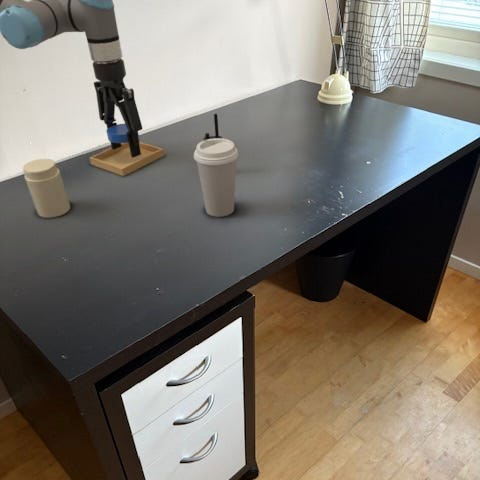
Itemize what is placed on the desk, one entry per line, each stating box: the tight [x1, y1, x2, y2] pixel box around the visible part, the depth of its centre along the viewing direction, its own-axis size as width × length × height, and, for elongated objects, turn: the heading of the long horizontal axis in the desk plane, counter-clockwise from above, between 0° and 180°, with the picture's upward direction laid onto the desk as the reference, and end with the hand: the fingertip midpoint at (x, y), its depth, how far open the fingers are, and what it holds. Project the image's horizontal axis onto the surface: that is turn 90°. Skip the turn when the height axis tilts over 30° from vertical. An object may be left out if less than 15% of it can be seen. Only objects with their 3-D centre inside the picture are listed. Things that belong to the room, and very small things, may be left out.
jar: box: [22, 158, 71, 219], centre depth 109 cm, size 8×8×11 cm
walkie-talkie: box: [202, 113, 223, 141], centre depth 119 cm, size 5×3×15 cm
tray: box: [89, 141, 165, 177], centre depth 131 cm, size 13×15×2 cm
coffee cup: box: [193, 138, 239, 218], centre depth 105 cm, size 10×10×15 cm
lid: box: [106, 123, 140, 143], centre depth 127 cm, size 8×8×2 cm
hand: (126, 151), depth 130 cm, fingers closed on lid, 8 cm apart
